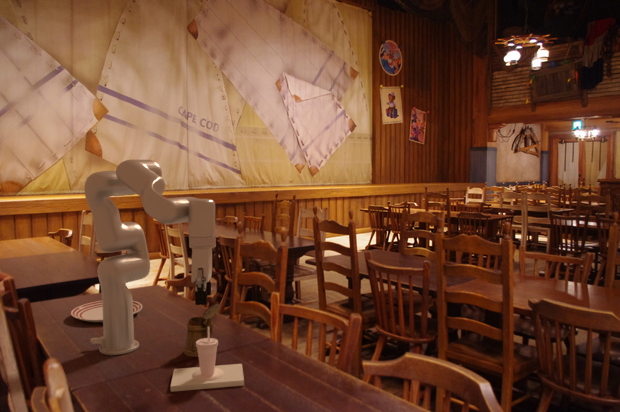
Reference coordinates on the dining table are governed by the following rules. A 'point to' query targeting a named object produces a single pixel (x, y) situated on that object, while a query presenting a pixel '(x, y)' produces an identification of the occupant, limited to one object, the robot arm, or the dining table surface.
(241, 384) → the serving board
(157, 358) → the dining table surface
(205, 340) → the smoothie
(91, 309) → the dinner plate
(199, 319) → the wooden mug
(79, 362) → the dining table surface
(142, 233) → the robot arm
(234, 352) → the dining table surface
